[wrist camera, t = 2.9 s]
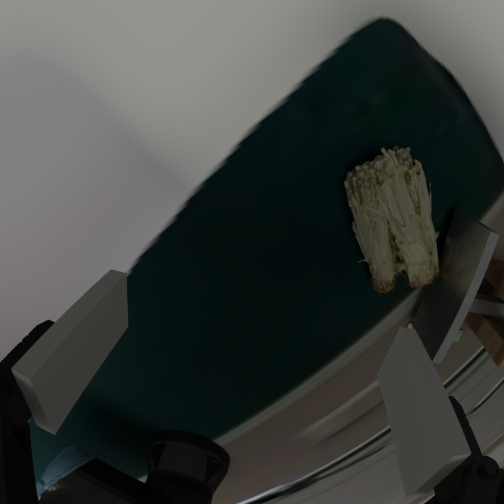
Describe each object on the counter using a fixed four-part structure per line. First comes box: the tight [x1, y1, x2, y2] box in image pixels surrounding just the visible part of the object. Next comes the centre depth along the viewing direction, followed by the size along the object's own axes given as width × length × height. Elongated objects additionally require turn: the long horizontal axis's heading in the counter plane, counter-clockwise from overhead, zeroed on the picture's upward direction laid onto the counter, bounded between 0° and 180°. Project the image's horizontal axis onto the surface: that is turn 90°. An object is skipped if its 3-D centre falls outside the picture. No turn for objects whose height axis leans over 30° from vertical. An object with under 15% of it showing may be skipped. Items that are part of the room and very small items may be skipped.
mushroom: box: [344, 146, 440, 293], centre depth 28 cm, size 14×10×5 cm, turn 23°
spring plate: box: [412, 210, 504, 364], centre depth 27 cm, size 10×14×7 cm
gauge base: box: [406, 258, 504, 368], centre depth 28 cm, size 12×12×10 cm
